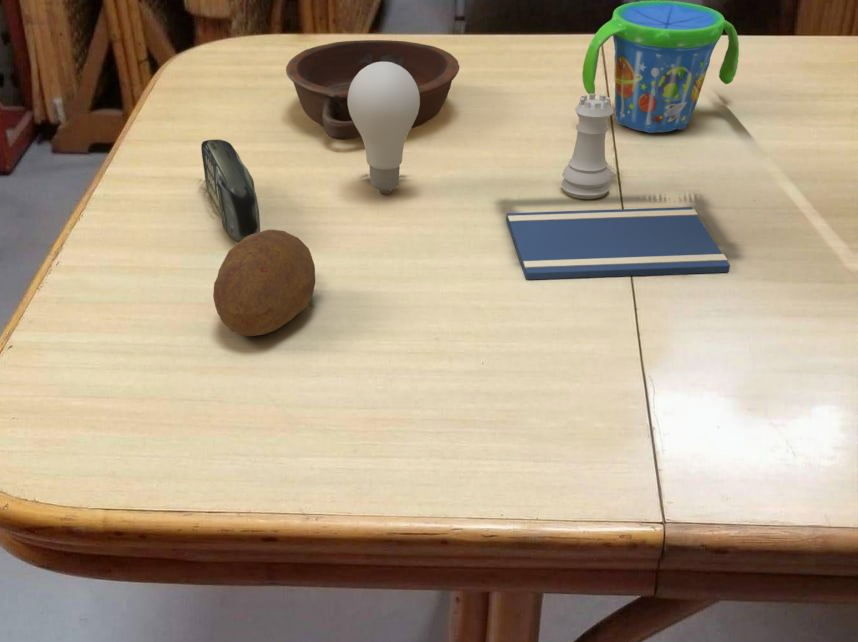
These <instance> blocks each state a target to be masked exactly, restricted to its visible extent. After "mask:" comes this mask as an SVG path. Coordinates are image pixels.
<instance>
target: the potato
mask: <svg viewBox="0 0 858 642" xmlns="http://www.w3.org/2000/svg"><path fill="white" fill-rule="evenodd" d="M315 286H316V265H315V263H314V259H313V255H312V253H311V251H310V248H309V247H308V246H307V245H306V244H305V243H304V242H303V241H302V240H301V239H300V238H299V237H297V236H295V235H294V234H290V233H288V232H286V231H285V230H280V229H279V230H278V229H266V230H262V231H260V232H258V233H254V234H251V235H249V236H247V237H245V238H244V239H243V240H241V241H240V242H238V243H237V244H236V245H234V246H233V247H232V248H231V249H230V250H228V251H227V254H226V255H225V258H224V259H223V261H222V263H221V265H220V267H219V269H218V272H217V277H216V279H215V280H214V283H213V295H212V297H213V302H214V307H215V310H216V313H217V314H218V317H219V319H220V320H221V322H222V323H223V325H225V327H226V328H227V329H229V330H230V331H231V332H233V333H236V334H238V335H242V336H245V337H246V336H247V337H254V336H261V335H263V336H264V335H267V334H269V333H272V332H274V331H276V330H278V329H280V328H281V327H283V326H284V325H286V324H287V323H288V322H290V321H291V320H292V319H294V318H295V317H296V316H297V315H298V314H300V313H301V312H302V311H304V310H305V309H306V308H307V306H308V305H309V304H310V302H311V300H312V299H313V296H314V290H315Z"/></svg>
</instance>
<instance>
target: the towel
mask: <svg viewBox="0 0 858 642" xmlns="http://www.w3.org/2000/svg"><path fill="white" fill-rule="evenodd" d="M505 219H506V222H507V223H506V224H507V225H508V229H509V232H510V235H511V238H512V240H513V244H514V246H515V250H516V253H517V255H518V258H519V262H520V264H521V268H522V271H523V274H524V276H525V279H526V280H528V281H529V280H555V279H581V278H582V279H583V278H606V277H609V278H610V277H633V276H634V277H635V276H637V277H638V276H662V275H663V276H664V275H688V274H689V275H690V274H718V273H729V272H730V266H731V265H730V263H729V262H728V258H727V257H726V255H725V254H724V253H723V252H722V251H721V249H720V248H719V247H718V245H717V243H716V241H714V239H713V237H712V236H711V234H710V233H709V230H707V228H706V227H705V225H704V224H703V222H702V220H701V219H700V217H699V214H698V212H697V211H696V209H694V207H692V206H680V207H679V206H678V207H677V206H676V207H649V208H646V207H645V208H621V209H620V208H618V209H590V210H589V209H588V210H587V209H586V210H561V211H558V210H557V211H531V212H529V211H528V212H507V213H506V215H505Z"/></svg>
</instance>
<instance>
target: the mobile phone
mask: <svg viewBox="0 0 858 642" xmlns="http://www.w3.org/2000/svg"><path fill="white" fill-rule="evenodd" d="M200 146H201V158H202V166H203V172H204V180H205V187H206V190H207V192H208V193H209V194H210V196H211V198H212V200H213V202H214V204H215V207H216V208H217V210H218V212H219V214H220V217H221V222H222V227H223V229H224V231H225V232H226V234H227V235H228V236H229V237H230V238H232V239H233V240H235V241H236V242H238V243H239V242H240V241H241V240H243V239H244V238H245V237H247V236H249V235H251V234H254V233H258V232H261V220H260V211H259V210H260V208H259V203H258V197H257V194H256V187H255V181H254V179H253V177H252V175H251V173H250V171H249V169H248V168H247V166H246V165H245V164H244V163H243V161H242V159H241V157H240V155H239V153H238V152H237V151H236V149H235V147H234V146H233V145H232V144H231V143H230V142H228V141H227V140H223V139H206V140H204V141H202V143H201V145H200Z"/></svg>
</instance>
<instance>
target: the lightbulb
mask: <svg viewBox="0 0 858 642" xmlns="http://www.w3.org/2000/svg"><path fill="white" fill-rule="evenodd" d="M347 100H348V109H349V113H350V116H351V118H352V120H353V122H354V124H355V126H356V128H357V129H358V131H359V133H360V135H361V137H360V138H361V140H362V142H363V145H364V150H365V156H366V157H365V158H366V164H367V165H368V166H369V167H368V168H369V181H370V186H371V187H372V188H373V189H375V190H376V191H378V192H379V193H381V194H389V193H391V192H392V190H394V189H396V188H398V186H399V185H400V169H401V167H400V166H401V164H402V163H403V154H404V147H405V143H406V141H407V138H408V134H409V132H411V127H412V125H413V123H414V121H415V119H416V117H417V115H418V111H419V106H420V96H419V90H418V88H417V85H416V83H415V81H414V79H413V78H412V76H411V75H410V74H409V73H408V71H406V70H405V69H404V68H402V67H401V66H399V65H397V64H394V63H391V62H376V63H373V64H370V65H368V66H366V67H365V68H363V69H362V70H361V71H359V73H358V74H357V75H356V76H355V78H354V79H353V81H352V83H351V85H350V88H349V92H348V99H347Z"/></svg>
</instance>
